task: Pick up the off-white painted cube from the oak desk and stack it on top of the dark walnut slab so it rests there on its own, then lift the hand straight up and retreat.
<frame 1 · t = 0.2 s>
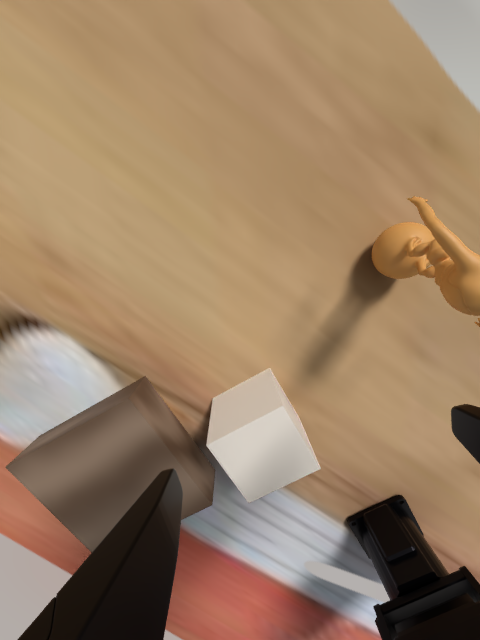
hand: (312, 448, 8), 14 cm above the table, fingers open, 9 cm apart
walnut slab: (131, 450, 24), on the table
figurine: (373, 260, 20), on the table
off-white cube: (256, 407, 23), on the table
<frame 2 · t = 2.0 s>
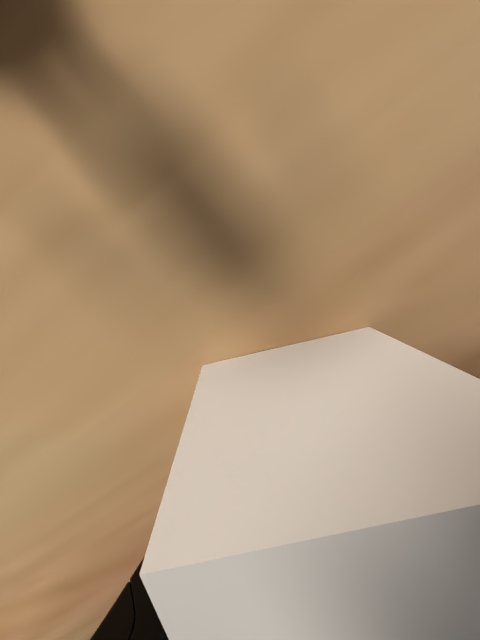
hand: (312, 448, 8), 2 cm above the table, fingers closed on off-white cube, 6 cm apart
off-white cube: (299, 418, 9), on the table, touching gripper
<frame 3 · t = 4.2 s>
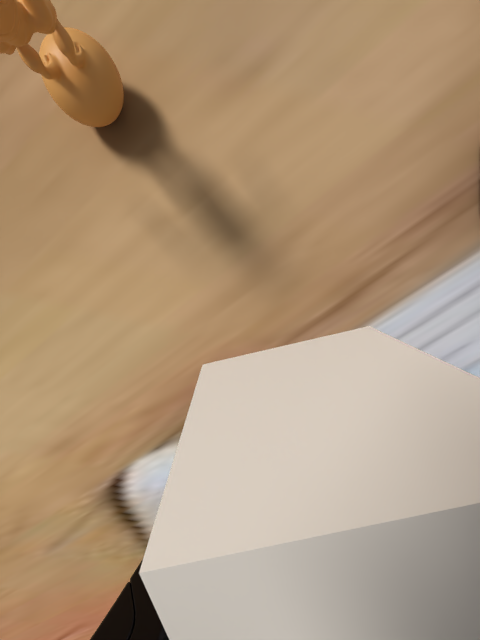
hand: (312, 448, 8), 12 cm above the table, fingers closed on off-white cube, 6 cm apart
figurine: (112, 123, 16), on the table
off-white cube: (299, 418, 9), point 11 cm above the table, touching gripper
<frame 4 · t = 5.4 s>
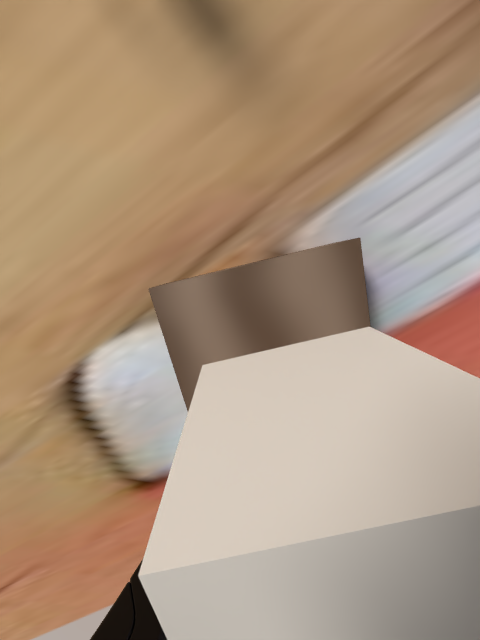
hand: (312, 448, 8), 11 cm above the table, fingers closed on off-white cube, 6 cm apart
walnut slab: (265, 341, 19), on the table
off-white cube: (299, 418, 9), point 9 cm above the table, touching gripper
when the fingers open (7 cm above the table, at t = 6.5 s): off-white cube drops 2 cm, resting on walnut slab.
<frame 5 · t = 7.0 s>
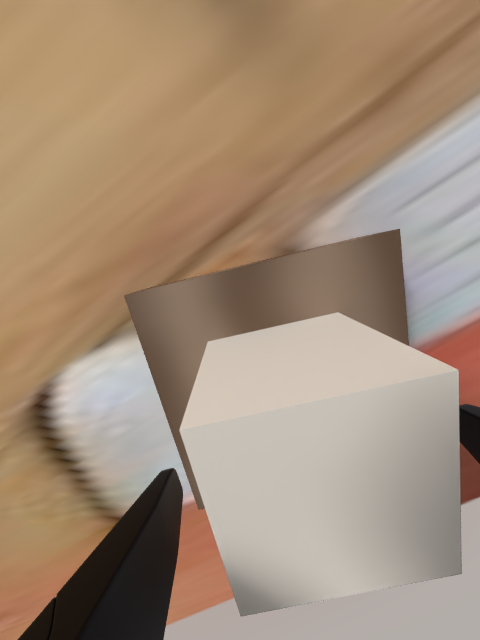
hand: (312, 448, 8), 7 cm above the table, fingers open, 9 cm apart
walnut slab: (272, 356, 16), on the table, touching off-white cube
off-white cube: (284, 385, 12), point 3 cm above the table, touching walnut slab
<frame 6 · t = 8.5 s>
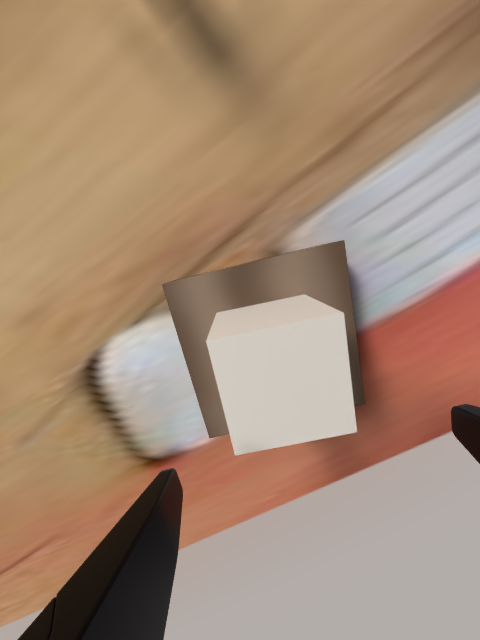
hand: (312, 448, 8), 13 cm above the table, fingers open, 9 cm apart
walnut slab: (263, 332, 21), on the table, touching off-white cube
off-white cube: (268, 345, 17), point 3 cm above the table, touching walnut slab
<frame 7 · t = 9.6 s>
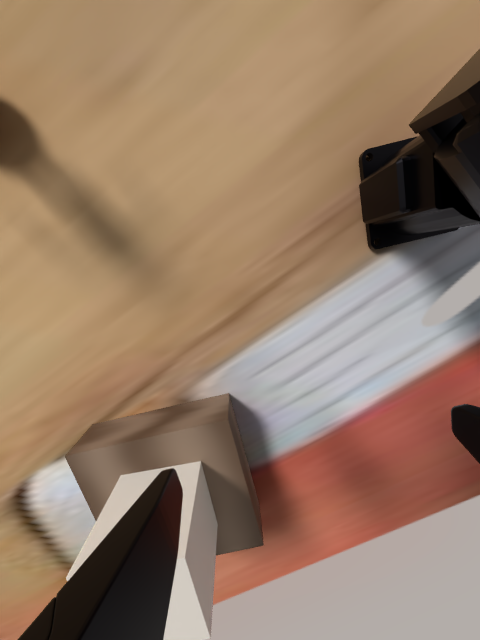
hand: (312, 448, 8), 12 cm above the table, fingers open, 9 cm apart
walnut slab: (181, 462, 23), on the table
off-white cube: (170, 500, 19), point 3 cm above the table
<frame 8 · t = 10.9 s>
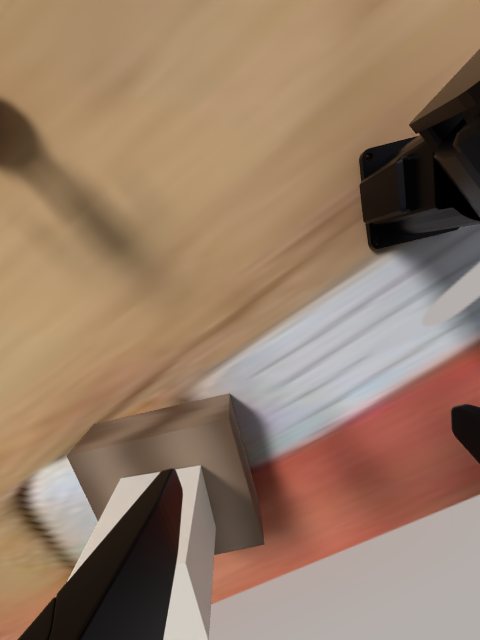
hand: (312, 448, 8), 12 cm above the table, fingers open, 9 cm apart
walnut slab: (182, 461, 23), on the table
off-white cube: (169, 503, 19), point 3 cm above the table
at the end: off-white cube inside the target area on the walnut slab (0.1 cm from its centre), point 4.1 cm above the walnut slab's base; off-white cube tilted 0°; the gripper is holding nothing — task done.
